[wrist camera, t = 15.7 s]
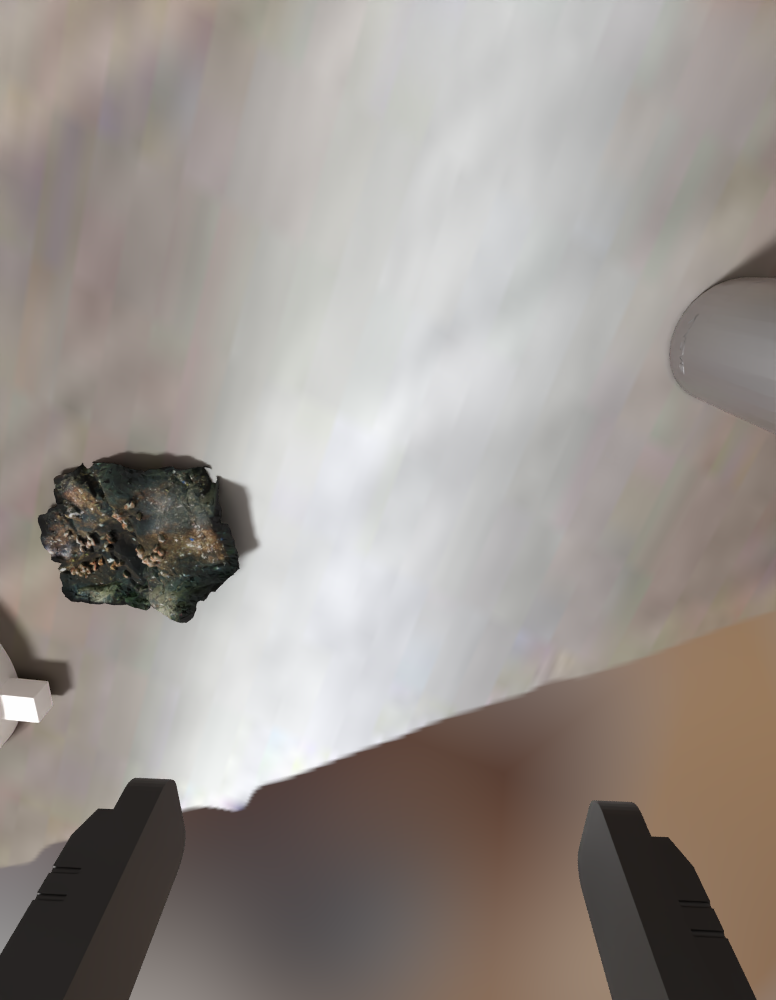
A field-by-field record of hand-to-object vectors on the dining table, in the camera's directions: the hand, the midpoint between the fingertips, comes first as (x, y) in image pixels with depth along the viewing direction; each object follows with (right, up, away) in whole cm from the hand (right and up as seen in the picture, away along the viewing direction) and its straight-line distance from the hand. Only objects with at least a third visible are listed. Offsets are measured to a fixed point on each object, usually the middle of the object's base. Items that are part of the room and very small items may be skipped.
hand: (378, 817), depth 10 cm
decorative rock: (-23, +3, +40) cm, 46 cm away
